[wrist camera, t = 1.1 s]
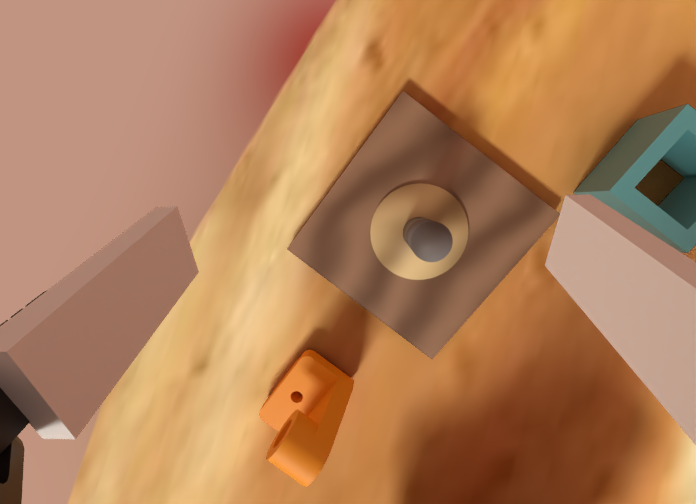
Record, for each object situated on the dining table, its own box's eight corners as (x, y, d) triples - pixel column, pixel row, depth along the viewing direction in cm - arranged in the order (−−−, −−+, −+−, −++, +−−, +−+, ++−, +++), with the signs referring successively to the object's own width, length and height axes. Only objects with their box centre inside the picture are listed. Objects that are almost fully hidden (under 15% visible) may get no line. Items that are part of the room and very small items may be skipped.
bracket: (309, 343, 44) (285, 396, 32) (354, 377, 44) (346, 441, 32) (263, 403, 46) (223, 474, 34) (306, 434, 46) (282, 516, 34)
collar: (706, 174, 37) (769, 169, 31) (639, 245, 39) (687, 253, 33) (637, 119, 37) (687, 103, 31) (573, 192, 38) (609, 190, 33)
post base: (553, 213, 39) (621, 218, 28) (430, 354, 43) (448, 405, 32) (401, 95, 38) (412, 53, 28) (290, 247, 42) (260, 263, 31)
